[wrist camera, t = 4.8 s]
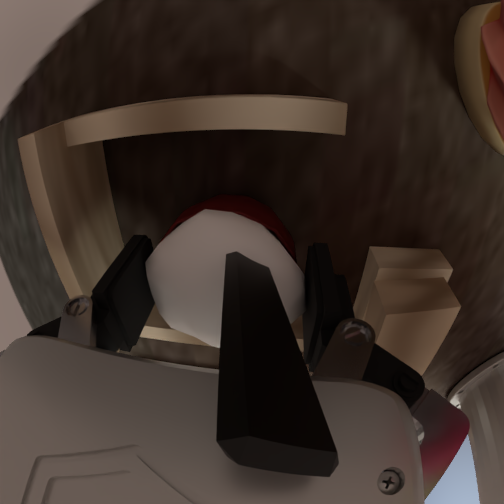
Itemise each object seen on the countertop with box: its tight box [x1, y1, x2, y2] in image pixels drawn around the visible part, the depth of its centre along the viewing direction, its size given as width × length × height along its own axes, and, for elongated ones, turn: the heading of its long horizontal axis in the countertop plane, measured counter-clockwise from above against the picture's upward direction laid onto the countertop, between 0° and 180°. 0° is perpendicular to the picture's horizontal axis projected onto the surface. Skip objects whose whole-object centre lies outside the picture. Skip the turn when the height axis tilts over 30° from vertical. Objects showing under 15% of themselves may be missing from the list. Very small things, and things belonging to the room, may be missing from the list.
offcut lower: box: [353, 246, 453, 321], centre depth 16 cm, size 5×8×2 cm, turn 1°
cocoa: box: [145, 194, 339, 477], centre depth 10 cm, size 10×6×12 cm, turn 129°
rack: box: [18, 94, 347, 353], centre depth 13 cm, size 13×13×5 cm
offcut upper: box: [364, 277, 461, 376], centre depth 15 cm, size 5×7×2 cm, turn 5°
